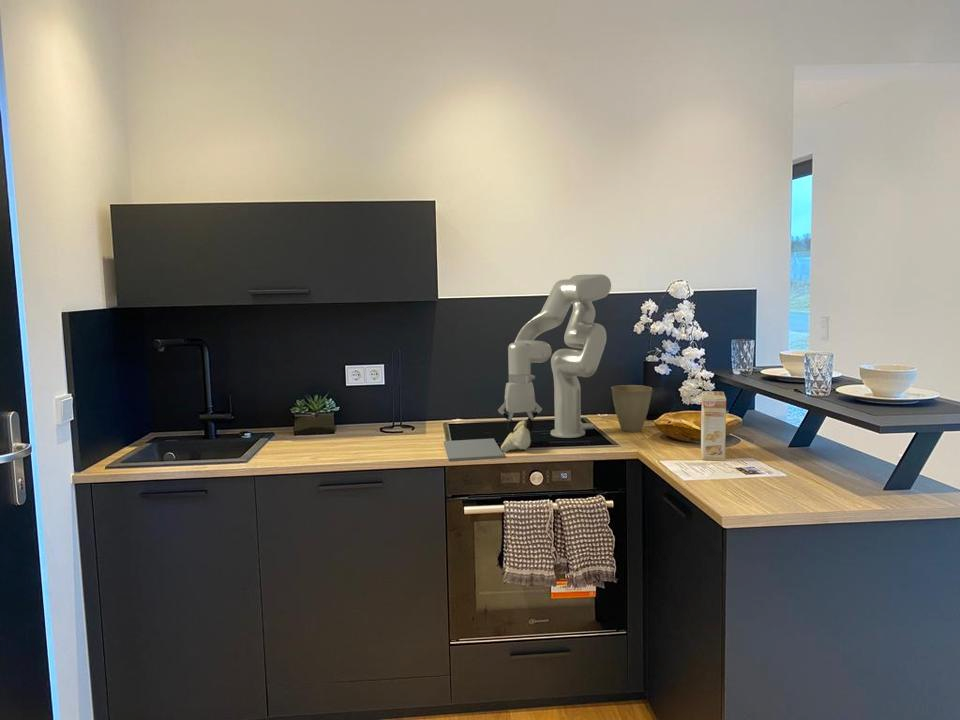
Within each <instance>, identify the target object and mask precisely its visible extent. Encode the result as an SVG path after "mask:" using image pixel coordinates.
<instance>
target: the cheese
mask: <svg viewBox="0 0 960 720" xmlns="http://www.w3.org/2000/svg"><path fill="white" fill-rule="evenodd" d="M531 442H532V440H531V432H529V430H528V429H527V420H526V419H523V420H521V421H519V422H518V423H517V424H516V425H515V427H513V433H511V432H510V433H509V434H508V435H507V437H506V438H505V439H504V441H503V442H502V444H501V445H500V450H501V451H502V453H503V452H504V453H507V452H511V451H513V450H514V451H515V450H517V451H518V450H520V451H521V450H523V451H526V450H527V449H528V448H530V445H531ZM510 450H511V451H510Z"/></svg>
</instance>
